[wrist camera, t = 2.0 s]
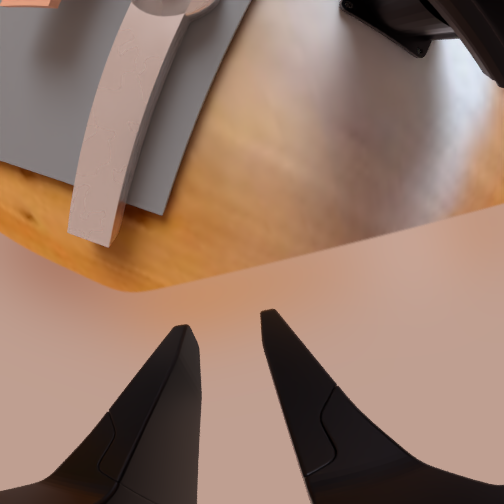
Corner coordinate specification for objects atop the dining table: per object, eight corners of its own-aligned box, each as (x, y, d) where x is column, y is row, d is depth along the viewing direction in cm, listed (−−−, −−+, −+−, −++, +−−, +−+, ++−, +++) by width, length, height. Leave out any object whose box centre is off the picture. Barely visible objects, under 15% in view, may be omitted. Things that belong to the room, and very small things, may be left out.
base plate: (285, -58, 12) (287, -64, 11) (165, 209, 21) (162, 215, 20) (28, -79, 7) (22, -82, 6) (-45, 140, 16) (-52, 143, 15)
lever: (160, -53, 11) (147, -74, 8) (239, -35, 12) (241, -57, 9) (68, 213, 19) (47, 235, 16) (132, 236, 20) (118, 261, 17)
